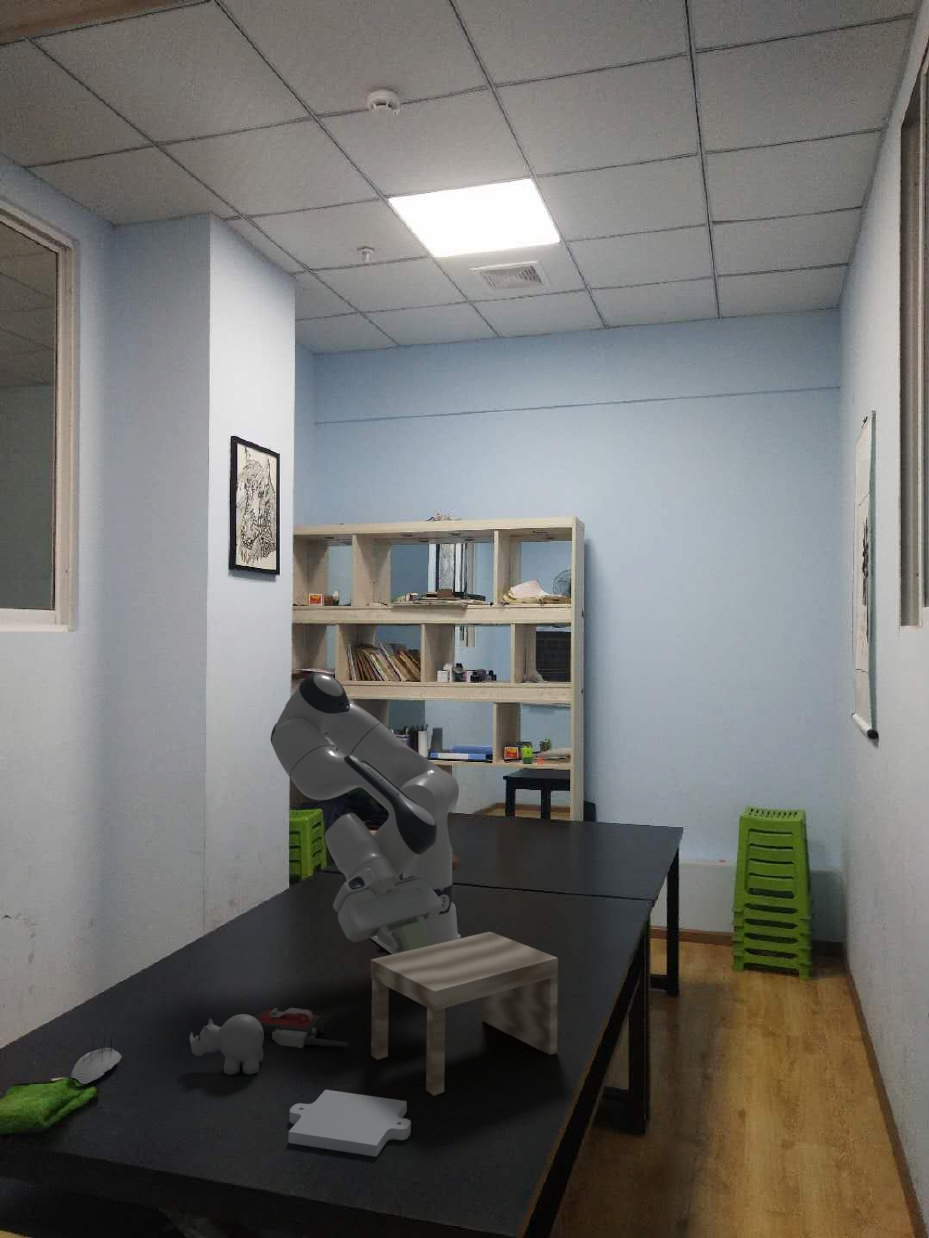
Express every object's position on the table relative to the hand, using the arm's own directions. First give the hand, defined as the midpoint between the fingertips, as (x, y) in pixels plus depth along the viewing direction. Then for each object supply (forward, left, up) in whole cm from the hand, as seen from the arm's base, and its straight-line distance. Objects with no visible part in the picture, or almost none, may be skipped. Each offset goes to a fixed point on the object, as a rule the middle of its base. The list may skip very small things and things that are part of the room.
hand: (411, 945), depth 177 cm
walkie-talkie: (-7, -18, -15) cm, 25 cm away
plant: (-97, +74, -15) cm, 122 cm away
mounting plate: (+24, -28, -15) cm, 40 cm away
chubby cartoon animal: (-4, -34, -15) cm, 37 cm away
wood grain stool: (+15, 0, -14) cm, 21 cm away
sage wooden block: (+3, 0, -4) cm, 5 cm away
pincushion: (-15, -51, -15) cm, 55 cm away
